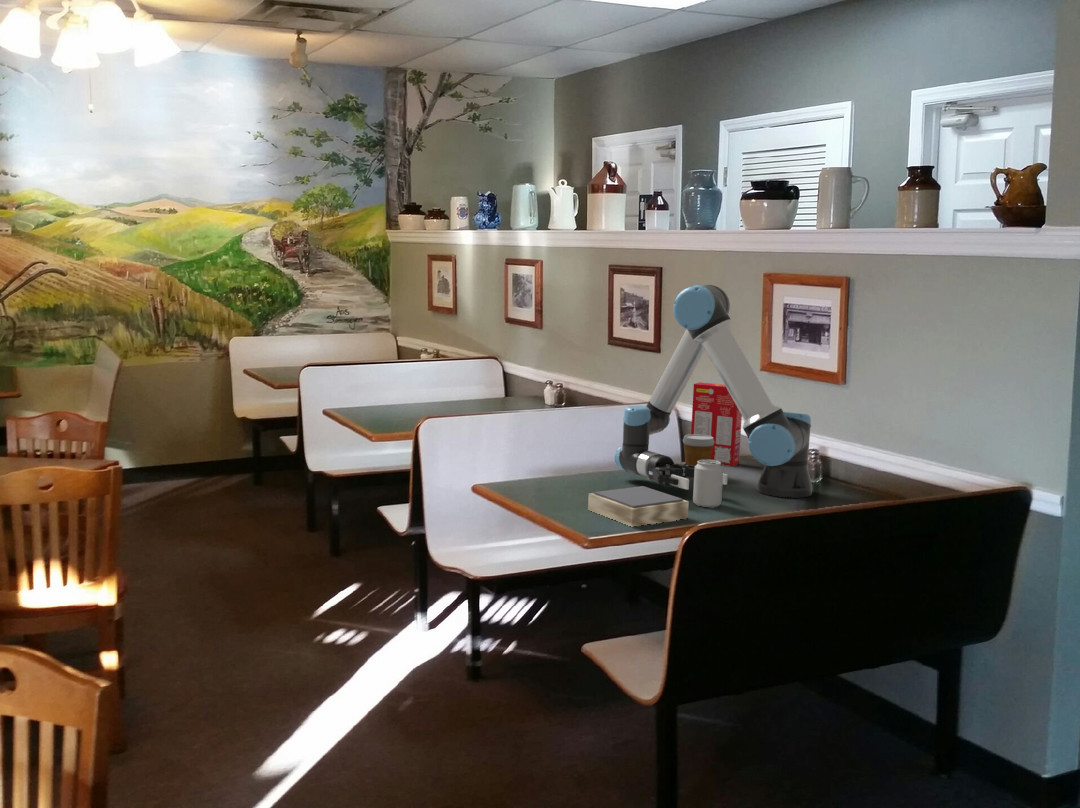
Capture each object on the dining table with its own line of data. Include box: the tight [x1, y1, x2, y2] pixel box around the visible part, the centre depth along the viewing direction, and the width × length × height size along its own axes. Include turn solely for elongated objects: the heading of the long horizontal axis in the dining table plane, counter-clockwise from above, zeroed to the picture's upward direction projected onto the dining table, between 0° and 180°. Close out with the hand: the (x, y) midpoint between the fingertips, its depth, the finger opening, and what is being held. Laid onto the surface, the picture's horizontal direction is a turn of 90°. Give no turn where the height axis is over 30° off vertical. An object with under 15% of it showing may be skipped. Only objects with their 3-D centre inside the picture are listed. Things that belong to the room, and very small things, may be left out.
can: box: [692, 460, 724, 508], centre depth 278 cm, size 8×8×12 cm
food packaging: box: [690, 381, 743, 467], centre depth 336 cm, size 15×5×25 cm, turn 61°
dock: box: [587, 485, 690, 528], centre depth 266 cm, size 18×18×5 cm
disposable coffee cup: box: [682, 433, 715, 466], centre depth 314 cm, size 10×10×12 cm
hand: (707, 482), depth 278 cm, fingers open, 13 cm apart
